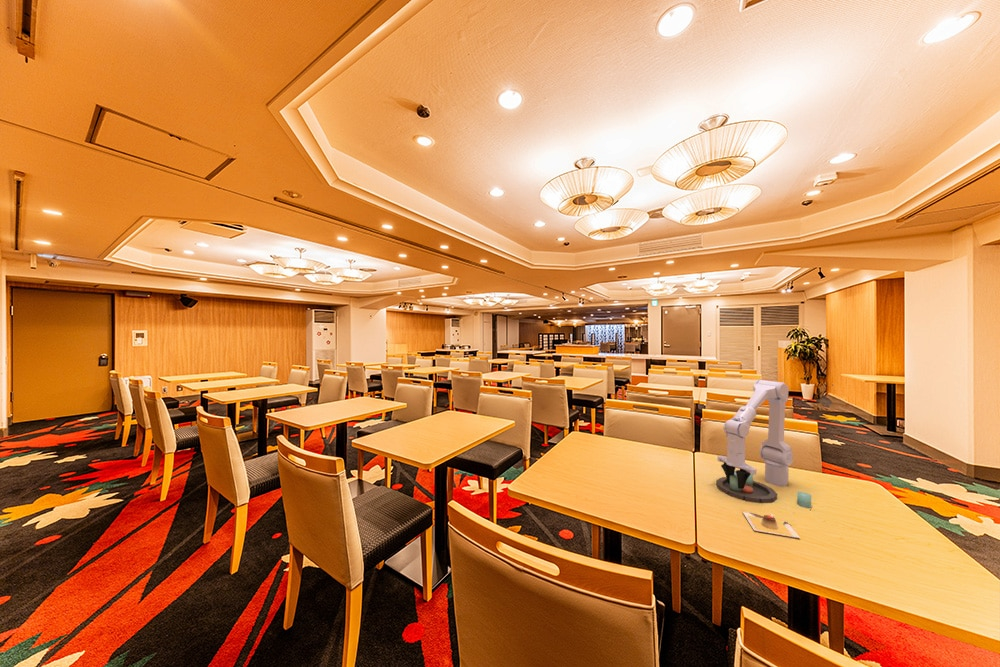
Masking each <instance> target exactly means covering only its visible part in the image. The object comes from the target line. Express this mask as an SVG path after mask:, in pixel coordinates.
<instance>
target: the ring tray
mask: <svg viewBox="0 0 1000 667" xmlns="http://www.w3.org/2000/svg"><path fill="white" fill-rule="evenodd" d="M715 485H716V488H717V489H718V490H719V491H721V492H722V493H724V494H725V495H727V496H730V497H732V498H736V499H738V500H741V501H745V502H751V503H756V504H768V503H774V502H775V501H776V500H777V499H778V493H777V492H776V491H775V490H774V489H773V488H772V487H770V486H768V485H766V484H764V483H762V482H760V481H755V480H753V488H752V487H750V486H748V485H745V486H744V488H743V489H741V492H736V491H732V490H731V489H730V484H728V481H727V478H726V476H723V477H719V478H718V479H716V483H715Z"/></svg>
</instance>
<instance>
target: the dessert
mask: <svg viewBox="0 0 1000 667" xmlns="http://www.w3.org/2000/svg"><path fill="white" fill-rule="evenodd" d="M742 515H744V517H745V518H746V520H747V522H748V524H749V525H750V526H751V528H752V529H753V531H755V532H759V533H766V534H771V535H776V536H777V535H778V536H783V537H790V538H795V539H801V537H800V536H799V534H798V533H797V532H796V531H795V529H794V528H793V527H792V525H790V524H789V523H788V521H784V522H783V523H782V524H783V526H784V527H785V528H786V529H787V531H788V532H789V533H790V534H791V535H787V534H784V533H783V534H782V533H776V532H772V531H771V532H770V531H765V530H759V529H757V528H756V526H755V524H754V523H753V522H752V519H750V517H752V518H753V517H754V518H758V519H759V518H760V519H761V522H760V525H761V526H762V527H764V528H766V529H769V530H775V531H777V530H778V529H779V526H778V523H777V521H776V520H777V519H776V518H775V517H774V514H772V513H771V512H770V513H769V514H768V515H767V514H764V515H760V514H757V513H752V512H745V511H742Z"/></svg>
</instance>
